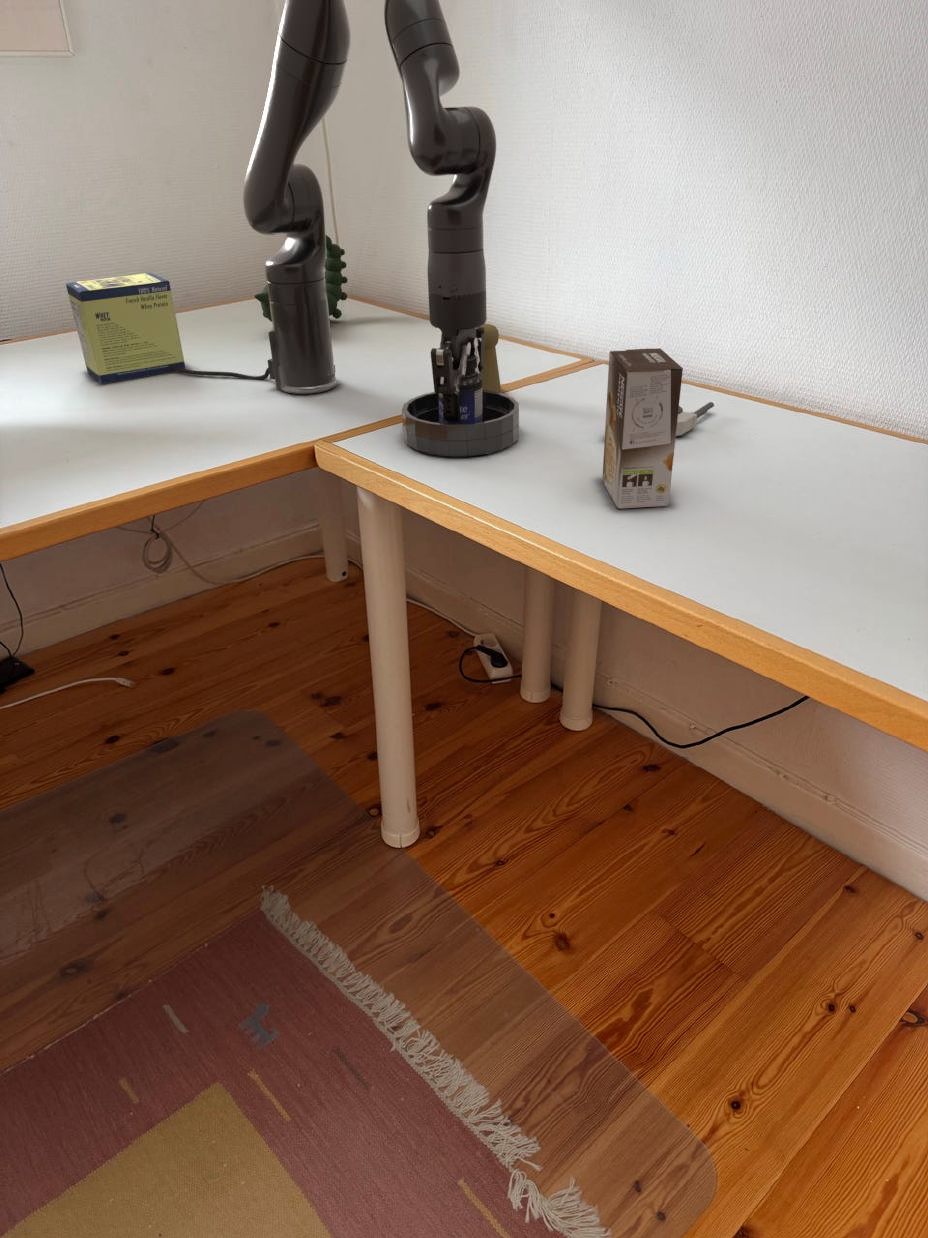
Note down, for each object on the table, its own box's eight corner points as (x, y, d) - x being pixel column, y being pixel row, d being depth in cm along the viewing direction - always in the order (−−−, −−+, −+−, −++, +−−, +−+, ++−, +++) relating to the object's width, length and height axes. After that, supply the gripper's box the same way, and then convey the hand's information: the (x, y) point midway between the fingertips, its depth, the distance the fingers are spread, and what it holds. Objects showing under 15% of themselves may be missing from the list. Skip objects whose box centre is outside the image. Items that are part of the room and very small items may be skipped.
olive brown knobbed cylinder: (498, 401, 135) (498, 329, 129) (461, 399, 136) (459, 328, 130) (504, 389, 140) (504, 320, 134) (468, 388, 141) (466, 319, 135)
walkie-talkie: (657, 455, 113) (717, 414, 127) (660, 423, 111) (721, 385, 124) (599, 443, 118) (663, 404, 131) (600, 411, 116) (666, 376, 129)
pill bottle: (433, 440, 119) (429, 360, 114) (448, 426, 124) (446, 349, 118) (474, 444, 118) (473, 363, 112) (488, 430, 122) (488, 352, 117)
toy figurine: (326, 323, 192) (242, 337, 173) (322, 231, 183) (233, 235, 165) (358, 328, 187) (275, 342, 169) (355, 234, 179) (267, 238, 160)
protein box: (187, 369, 156) (170, 279, 148) (100, 385, 149) (77, 291, 141) (169, 357, 163) (152, 271, 155) (85, 372, 156) (62, 282, 148)
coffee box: (670, 506, 99) (685, 367, 91) (616, 510, 99) (626, 371, 90) (649, 477, 107) (661, 346, 99) (599, 479, 107) (607, 349, 98)
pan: (385, 451, 117) (382, 418, 115) (431, 415, 130) (429, 385, 128) (496, 464, 112) (496, 430, 110) (533, 425, 125) (533, 394, 122)
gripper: (450, 275, 117) (454, 396, 126) (407, 296, 106) (415, 427, 115) (502, 277, 115) (502, 400, 124) (464, 299, 104) (467, 432, 112)
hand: (460, 412), depth 119 cm, fingers closed on pill bottle, 6 cm apart
